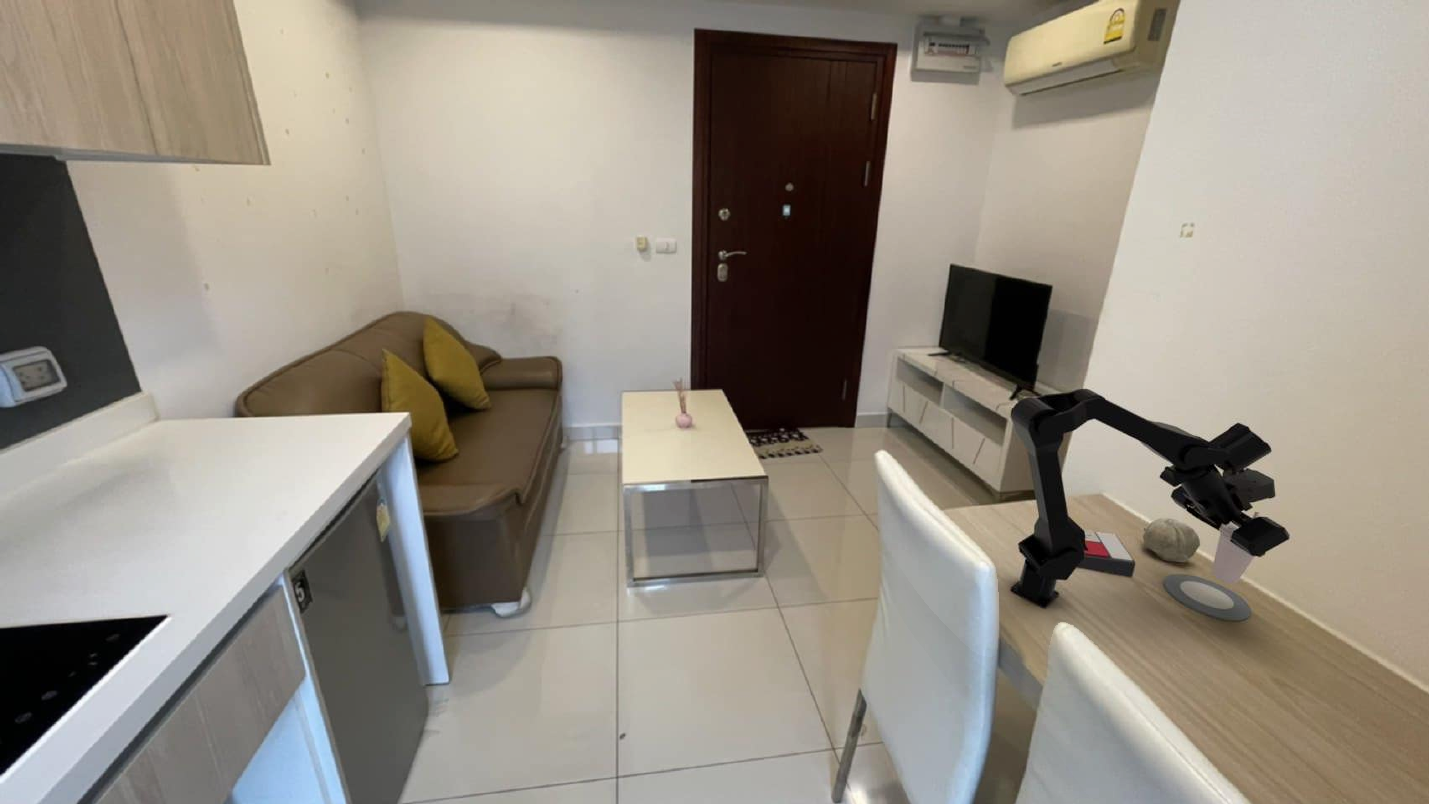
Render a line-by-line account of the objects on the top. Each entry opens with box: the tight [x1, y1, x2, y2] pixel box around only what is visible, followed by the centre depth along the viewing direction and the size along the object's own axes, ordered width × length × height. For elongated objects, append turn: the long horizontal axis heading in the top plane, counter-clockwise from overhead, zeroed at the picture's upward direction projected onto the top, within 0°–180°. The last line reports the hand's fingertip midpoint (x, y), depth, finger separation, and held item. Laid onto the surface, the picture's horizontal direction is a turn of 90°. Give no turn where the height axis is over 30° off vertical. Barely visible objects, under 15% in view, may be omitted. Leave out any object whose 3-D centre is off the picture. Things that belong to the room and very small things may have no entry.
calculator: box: [1076, 529, 1137, 578], centre depth 120 cm, size 11×4×15 cm
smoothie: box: [1211, 511, 1260, 585], centre depth 103 cm, size 6×6×14 cm
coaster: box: [1162, 573, 1252, 622], centre depth 109 cm, size 13×13×1 cm
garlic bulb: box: [1142, 517, 1201, 563], centre depth 120 cm, size 9×8×10 cm
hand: (1246, 544), depth 103 cm, fingers closed on smoothie, 6 cm apart
